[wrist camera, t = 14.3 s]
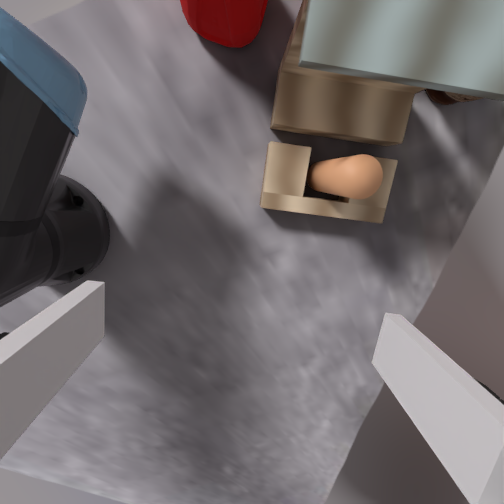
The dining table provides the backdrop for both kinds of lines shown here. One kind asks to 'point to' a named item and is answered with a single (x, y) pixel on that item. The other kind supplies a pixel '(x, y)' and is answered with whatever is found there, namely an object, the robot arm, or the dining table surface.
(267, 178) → the socket awning
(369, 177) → the peg
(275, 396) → the dining table surface
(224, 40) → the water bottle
